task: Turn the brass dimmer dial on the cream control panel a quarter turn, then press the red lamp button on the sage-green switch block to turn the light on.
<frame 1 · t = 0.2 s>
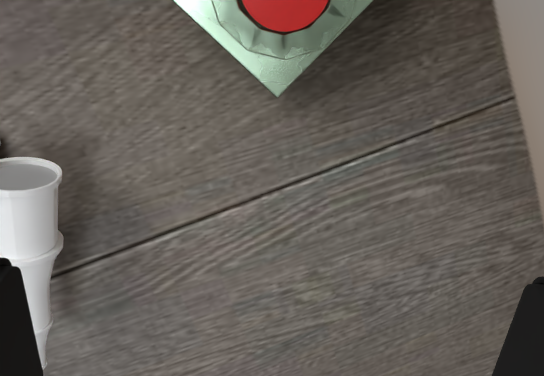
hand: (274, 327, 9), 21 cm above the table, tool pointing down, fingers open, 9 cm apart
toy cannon: (31, 233, 33), on the table
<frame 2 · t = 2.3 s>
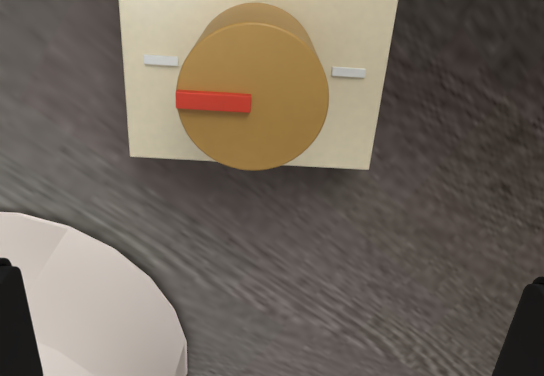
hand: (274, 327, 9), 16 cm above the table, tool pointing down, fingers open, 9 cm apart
dimmer knob: (254, 82, 18), point 5 cm above the table, hinge at 0.0°
dimmer panel: (256, 53, 23), on the table
kettle: (27, 343, 31), on the table
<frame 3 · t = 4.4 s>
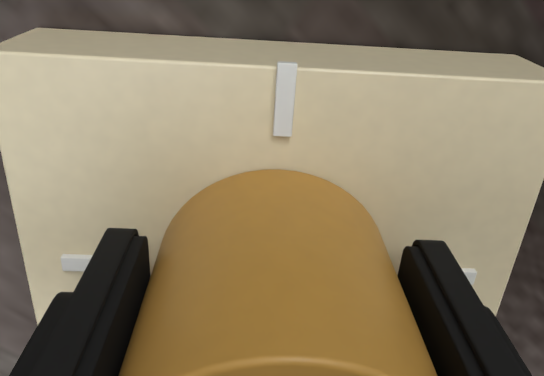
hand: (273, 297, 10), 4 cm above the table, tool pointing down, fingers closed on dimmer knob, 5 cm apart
dimmer knob: (275, 360, 9), point 5 cm above the table, hinge at 0.0°, touching gripper
dimmer panel: (270, 211, 13), on the table
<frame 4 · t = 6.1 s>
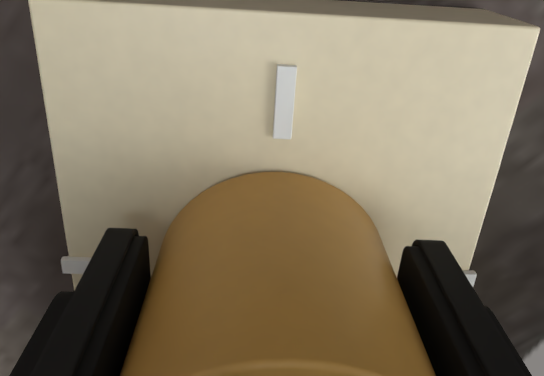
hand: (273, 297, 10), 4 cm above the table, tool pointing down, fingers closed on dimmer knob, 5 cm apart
dimmer knob: (275, 362, 9), point 5 cm above the table, hinge at 90.4°, touching gripper
dimmer panel: (270, 213, 13), on the table
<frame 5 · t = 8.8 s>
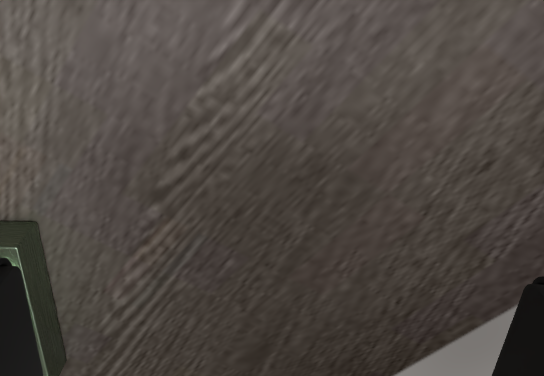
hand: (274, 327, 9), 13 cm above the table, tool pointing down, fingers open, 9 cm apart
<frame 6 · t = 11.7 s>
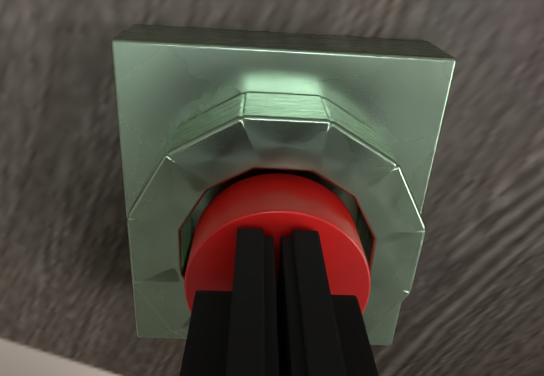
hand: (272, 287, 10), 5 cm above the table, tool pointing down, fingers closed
switch block: (273, 182, 15), on the table
lamp button: (276, 267, 11), point 4 cm above the table, slide at 0.0 cm, touching gripper
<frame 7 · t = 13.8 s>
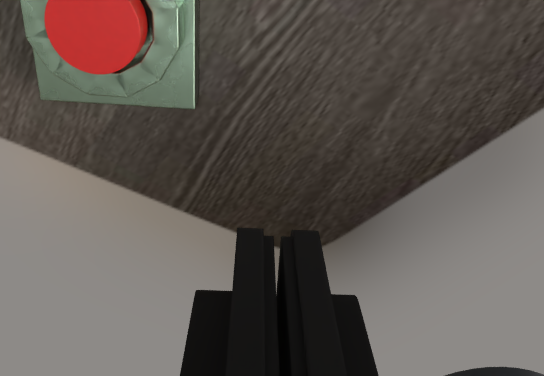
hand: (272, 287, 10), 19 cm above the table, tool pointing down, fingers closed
switch block: (122, 8, 25), on the table
lamp button: (98, 24, 22), point 4 cm above the table, slide at 0.1 cm
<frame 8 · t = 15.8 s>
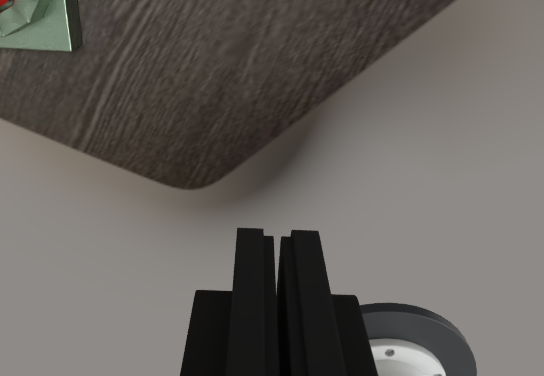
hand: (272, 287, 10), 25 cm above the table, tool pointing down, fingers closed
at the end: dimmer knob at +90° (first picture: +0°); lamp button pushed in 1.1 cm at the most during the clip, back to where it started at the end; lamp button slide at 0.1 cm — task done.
